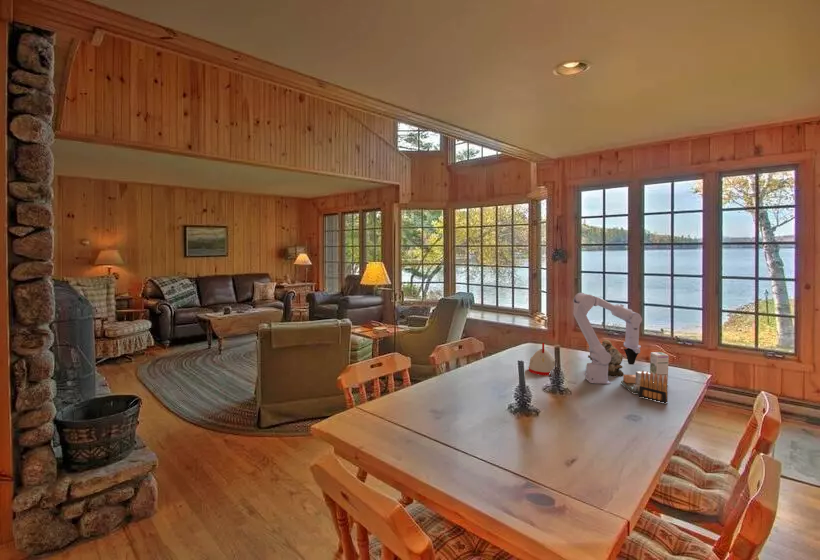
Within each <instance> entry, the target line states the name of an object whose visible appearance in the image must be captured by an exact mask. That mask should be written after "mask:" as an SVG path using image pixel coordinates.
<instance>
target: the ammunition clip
mask: <svg viewBox="0 0 820 560" xmlns="http://www.w3.org/2000/svg"><path fill="white" fill-rule="evenodd" d="M644 372H646V376H645V380H644ZM648 372H649V371H645V370H642V373H641V380H640V389H639V394H638V398H639V397H644V398H648V399H652V400H656V401H660V402H664V403H666V402H668V385H667V377H666V375H665V377H664V382H663V384H662V375H661V374H660V376H659V383H658V378H657V373H656V374H655V377H654V383H653V374H652V372H651V374H650V380H649V375H648Z"/></svg>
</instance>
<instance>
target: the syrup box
mask: <svg viewBox="0 0 820 560" xmlns="http://www.w3.org/2000/svg"><path fill="white" fill-rule="evenodd" d="M669 357H670V355H668V354H666V353H665V352H661V351H655V352H654V351H652V352H650V361H649V362H650V365H649V366H650V367H649V373H650V374H651V372H652V374H653V382H654V377H655V374H656V373H657V378H658V383H659V376H660V374H661V375H662V384H663V382H664V377H665V375H666V377H667V384H669Z"/></svg>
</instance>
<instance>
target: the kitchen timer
mask: <svg viewBox="0 0 820 560" xmlns="http://www.w3.org/2000/svg"><path fill="white" fill-rule="evenodd" d="M541 344H542V347H541V348H540V349H538V350H536V351H535V352H534V354H533V355H532V356H531V357H530V359H529V364H528V365H529V366H528V371H529V372H530V373H531V374H534V375H538V374H539V375H538V376H550V375H549V373H550V371H551V370H552V369H553V368H554V366H555V360H556V358H554V357H553V355H552V353H551V352H550V351H549V350H548V349H545V342H542V343H541Z"/></svg>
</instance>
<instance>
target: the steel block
mask: <svg viewBox="0 0 820 560" xmlns="http://www.w3.org/2000/svg"><path fill="white" fill-rule="evenodd" d="M642 371H643V370H642ZM642 371H638V370H636V371H635V375H636V379H635V384H636V385H640V380H641V373H642ZM646 372H647V371H644V380H645V376H646ZM648 375H649V380H650V371H648Z"/></svg>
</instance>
